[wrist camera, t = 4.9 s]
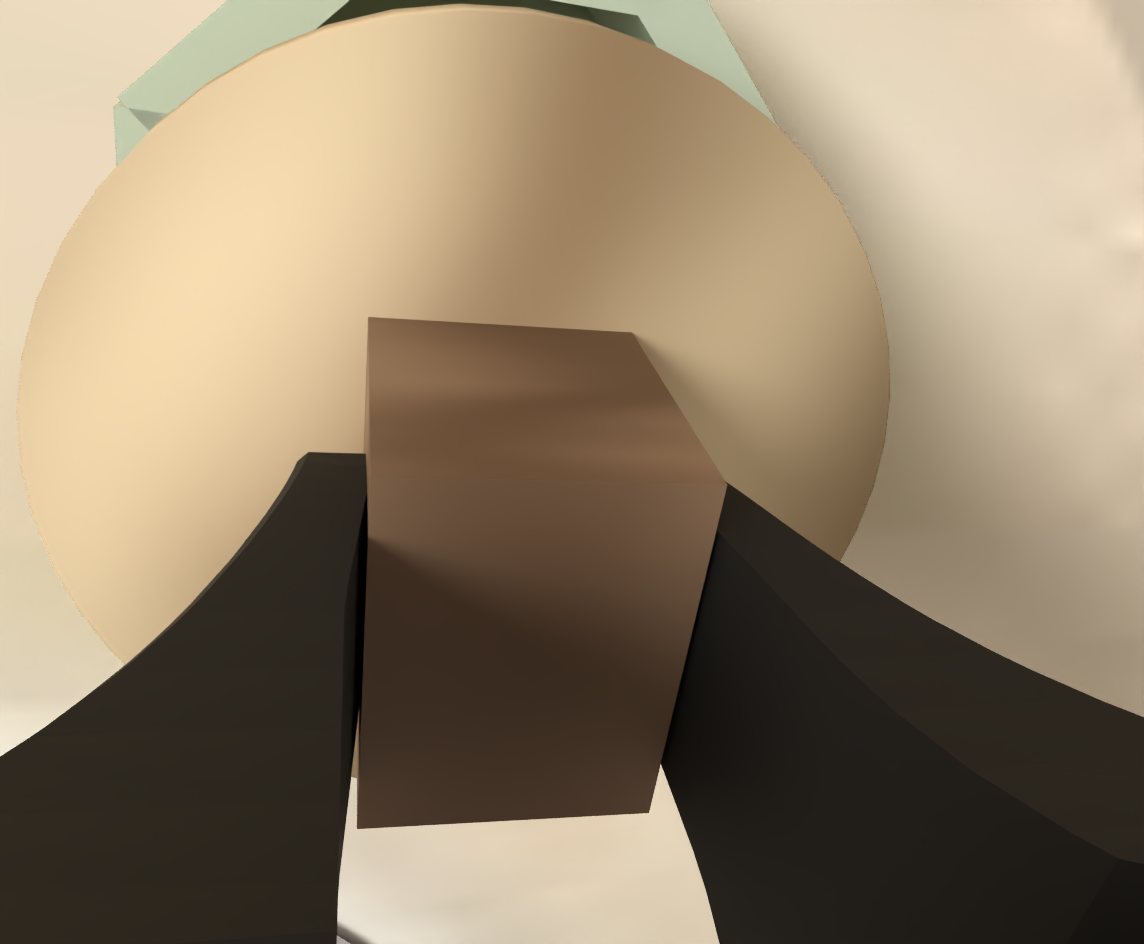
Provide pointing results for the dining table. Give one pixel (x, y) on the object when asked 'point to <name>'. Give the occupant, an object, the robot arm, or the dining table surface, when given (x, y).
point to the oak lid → (460, 378)
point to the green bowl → (304, 3)
